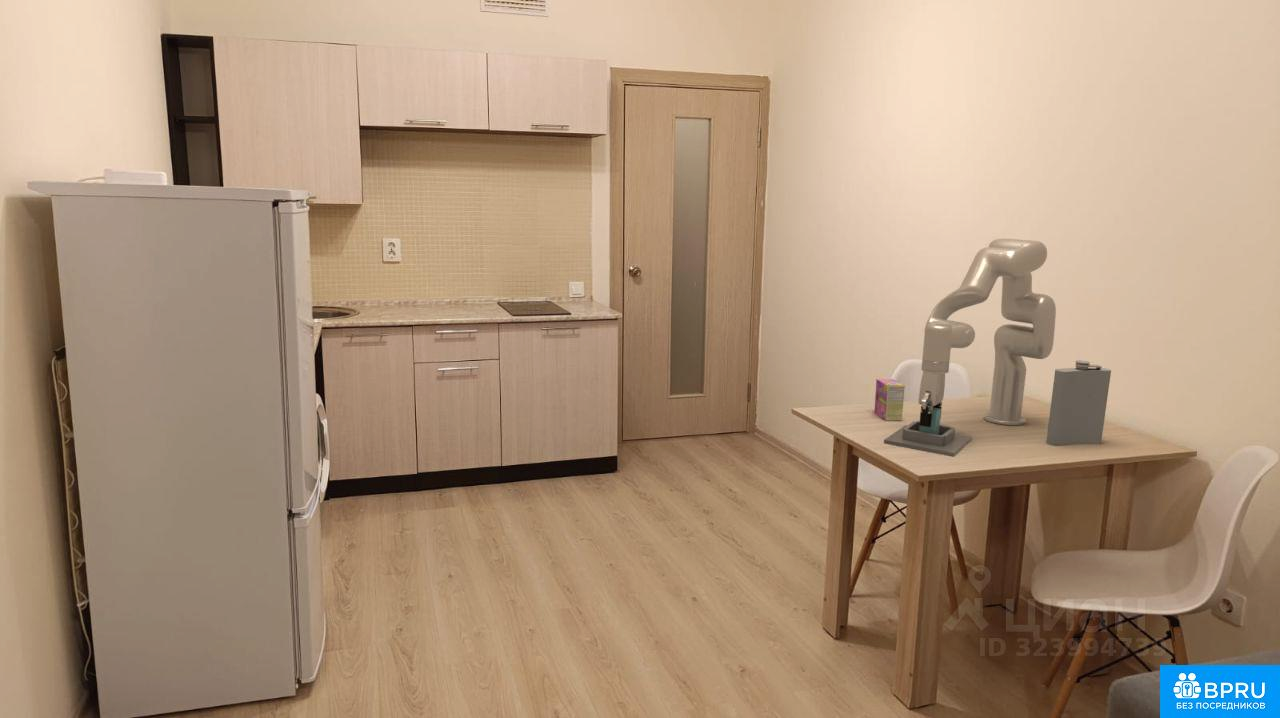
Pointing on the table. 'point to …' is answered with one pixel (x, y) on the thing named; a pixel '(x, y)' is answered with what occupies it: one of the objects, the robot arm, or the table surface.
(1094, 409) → the flask
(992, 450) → the table surface
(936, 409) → the block
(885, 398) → the box
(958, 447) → the well
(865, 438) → the table surface
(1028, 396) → the table surface
